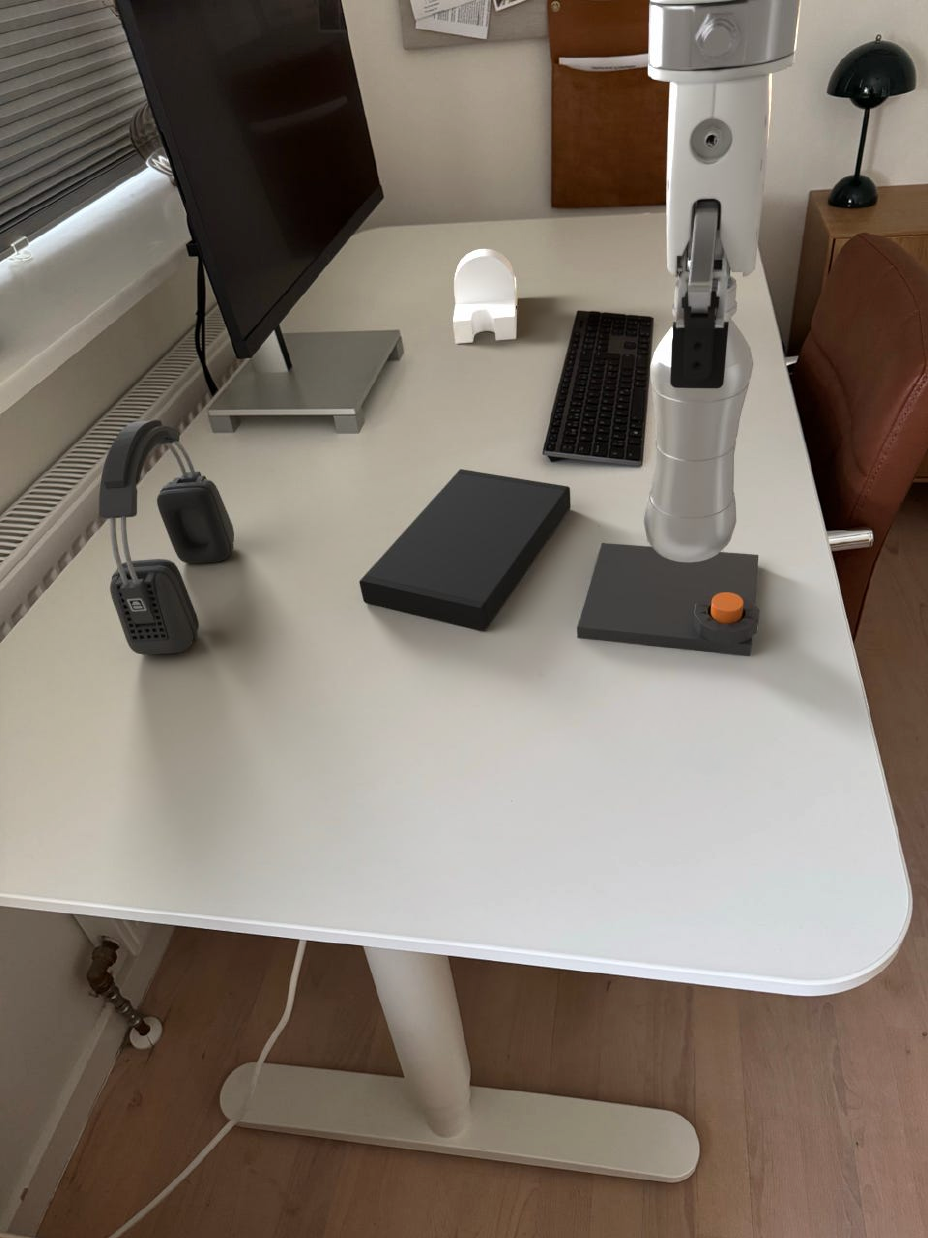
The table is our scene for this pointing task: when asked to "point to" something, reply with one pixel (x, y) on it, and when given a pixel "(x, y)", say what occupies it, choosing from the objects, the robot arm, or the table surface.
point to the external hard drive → (467, 549)
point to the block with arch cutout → (485, 296)
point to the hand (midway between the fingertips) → (700, 358)
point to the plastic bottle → (696, 450)
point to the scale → (668, 600)
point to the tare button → (727, 607)
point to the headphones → (194, 524)
